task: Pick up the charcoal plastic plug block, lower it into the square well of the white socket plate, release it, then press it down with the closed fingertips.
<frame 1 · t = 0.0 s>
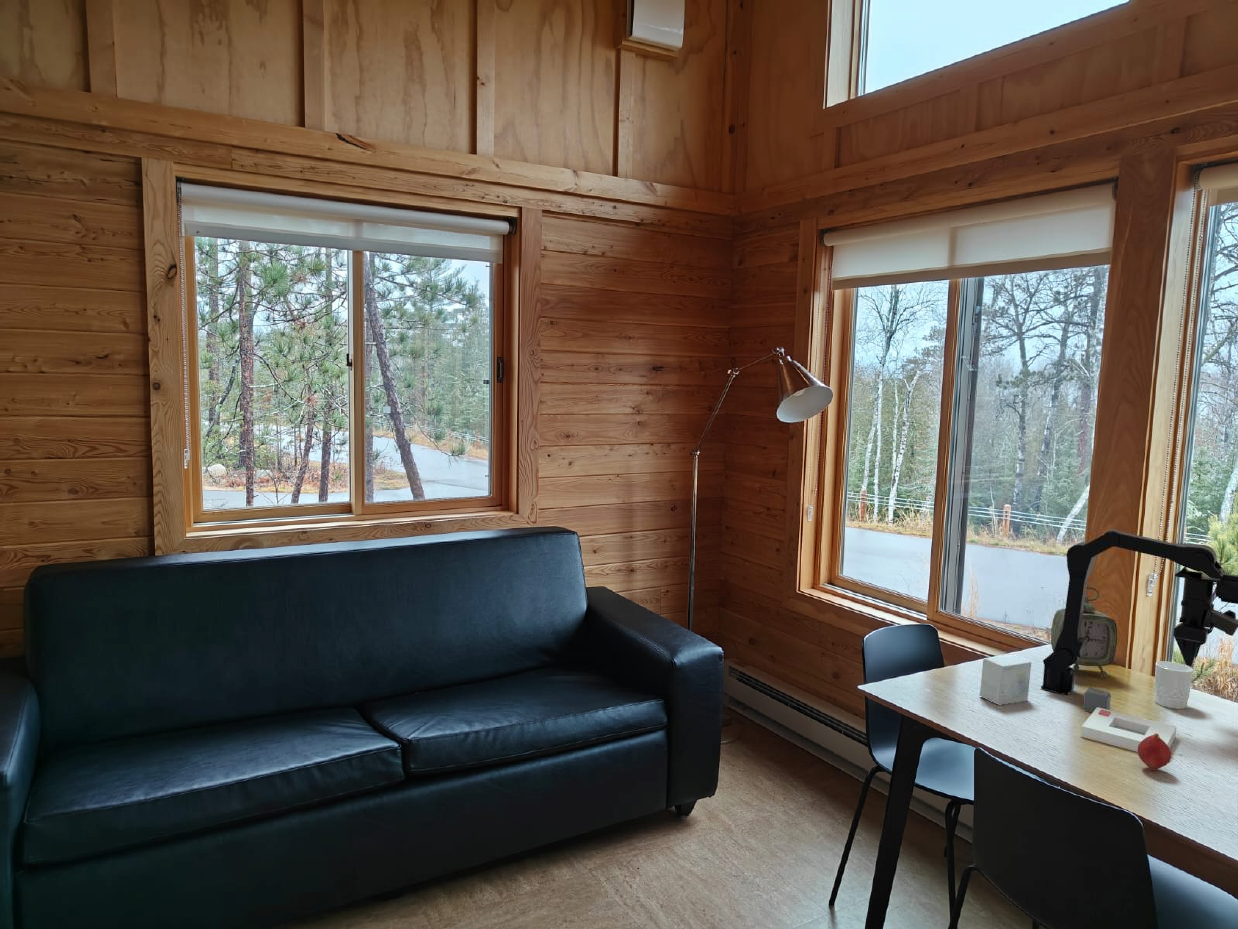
hand: (1191, 661, 195), 15 cm above the table, fingers open, 9 cm apart
white cup: (1170, 705, 207), on the table
plug: (1096, 710, 201), on the table
tabletop clock: (1079, 673, 230), on the table
skincare box: (1004, 700, 207), on the table
onion: (1152, 770, 169), on the table
socket plate: (1128, 736, 186), on the table
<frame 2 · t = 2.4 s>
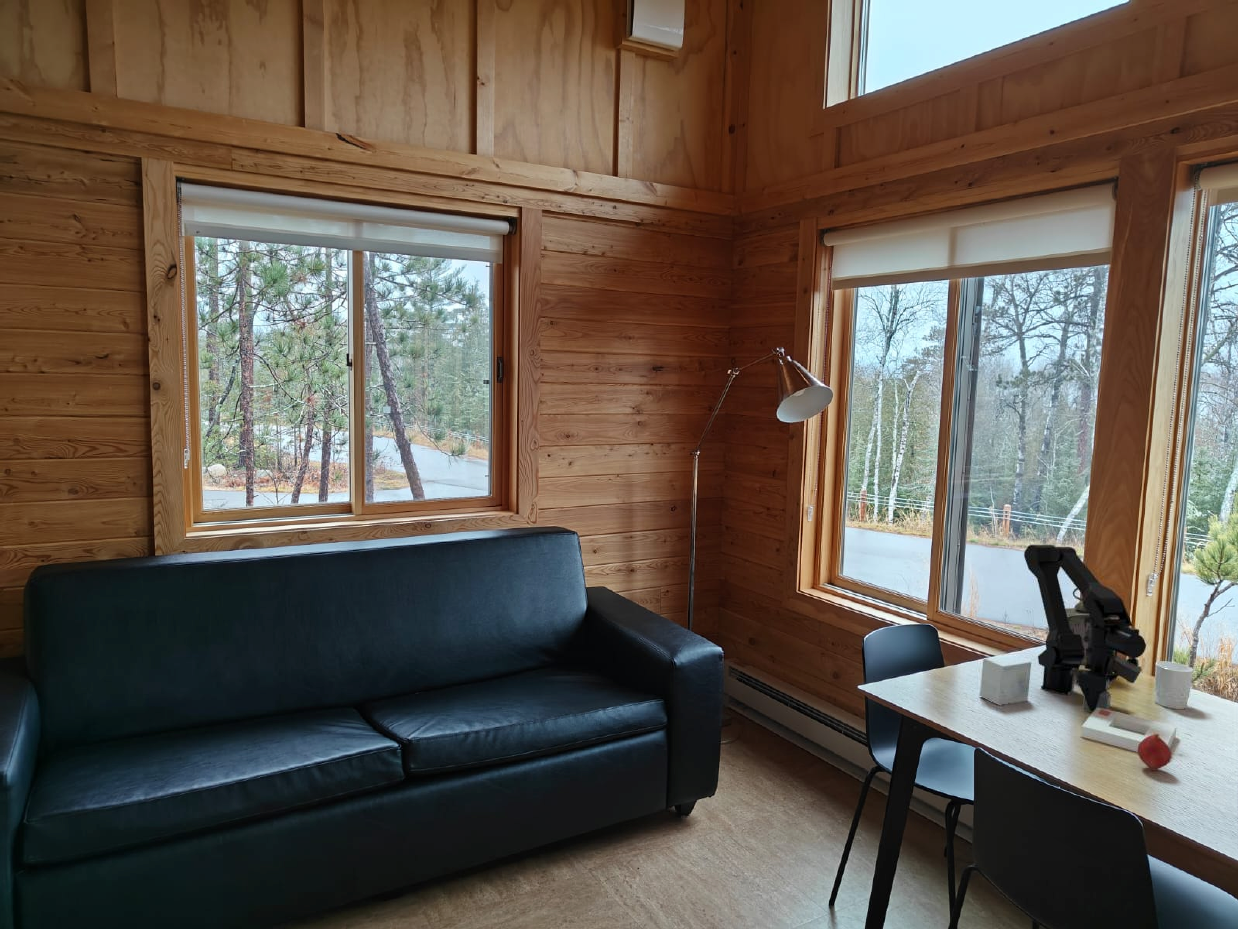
hand: (1096, 706, 201), 1 cm above the table, fingers open, 9 cm apart
nothing on the table moved.
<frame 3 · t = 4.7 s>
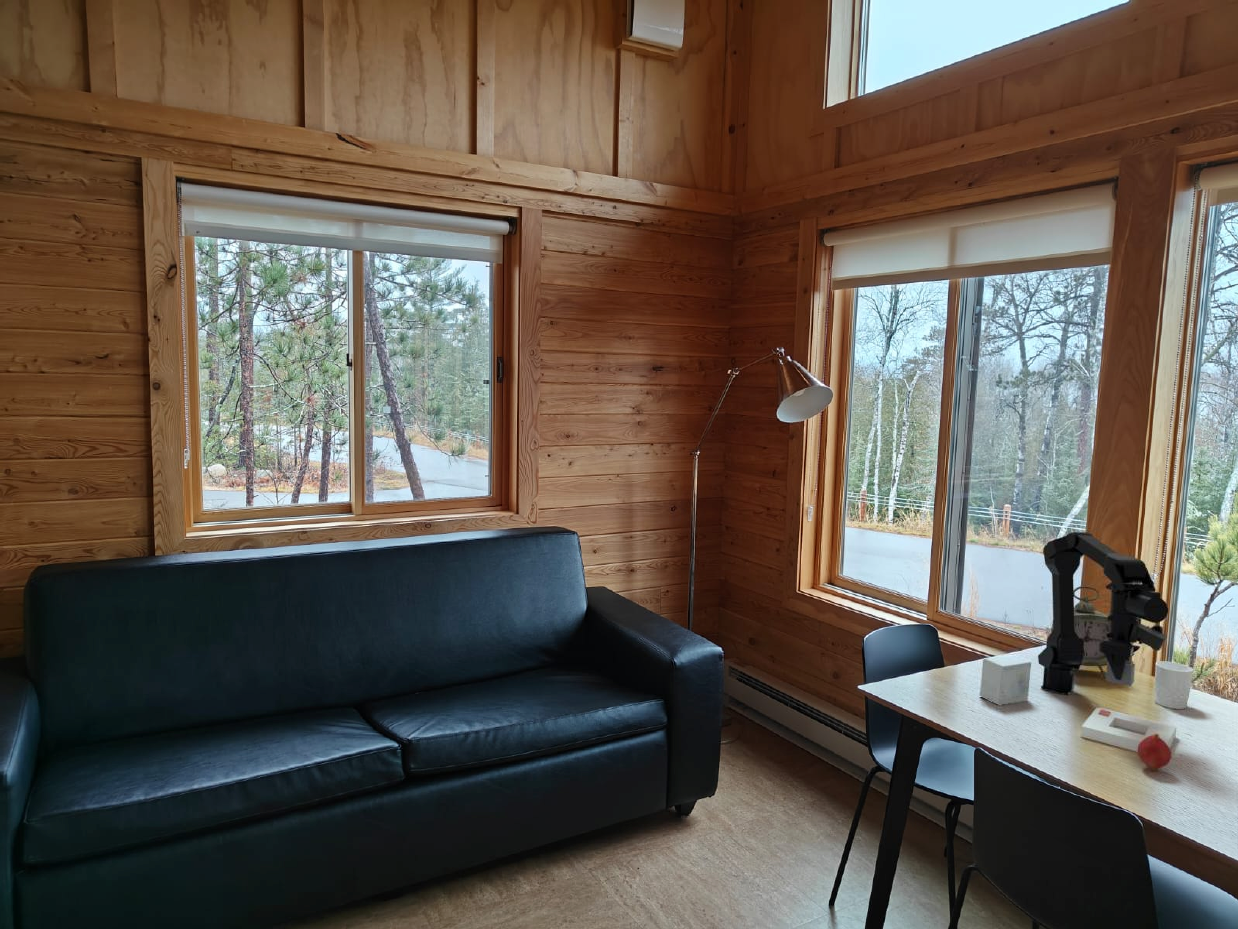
hand: (1119, 677, 191), 12 cm above the table, fingers closed on plug, 4 cm apart
plug: (1119, 681, 191), point 11 cm above the table, touching gripper
everything else where it was.
when the fingers open (3 cm above the table, at t = 6.5 s): plug drops 1 cm, resting on socket plate.
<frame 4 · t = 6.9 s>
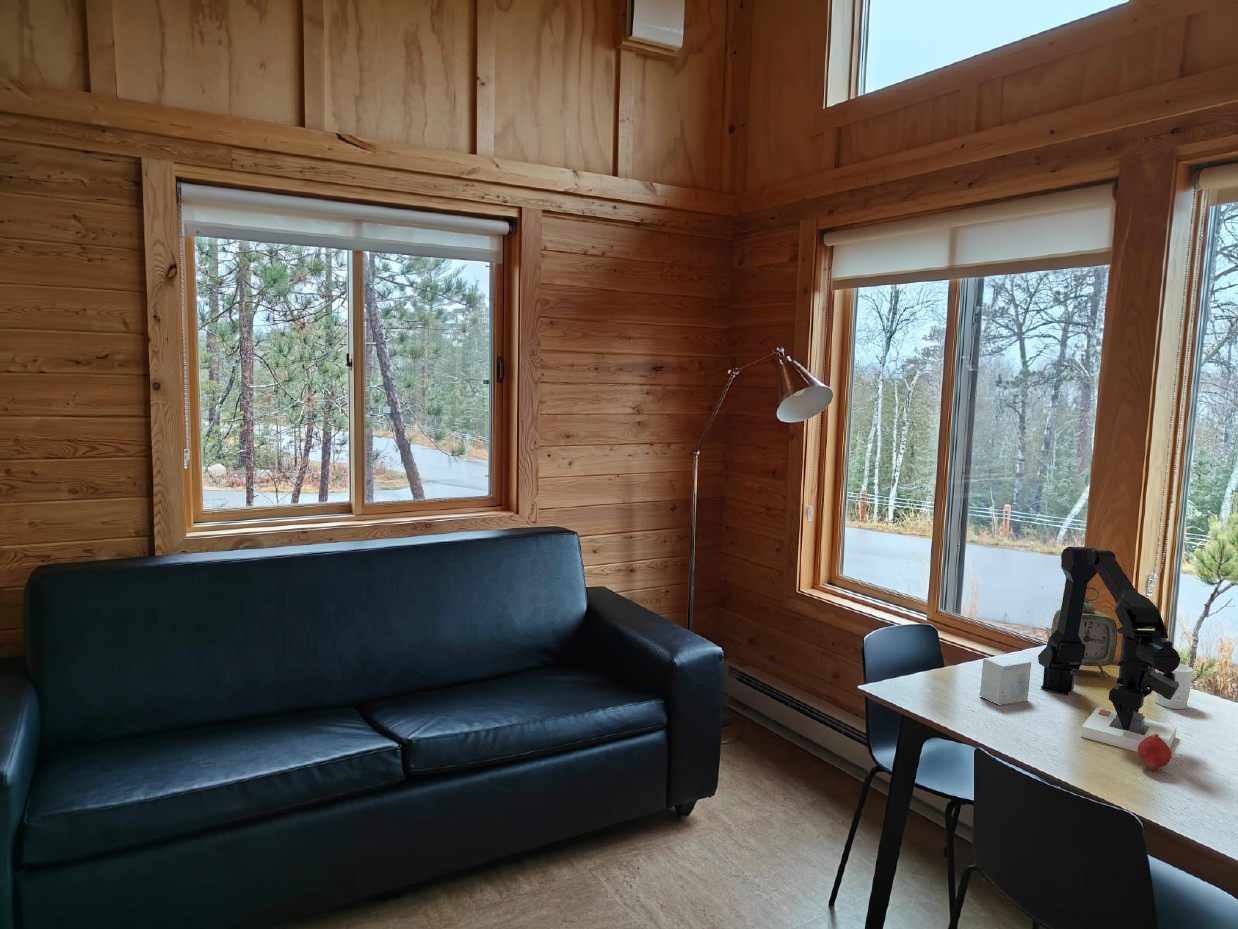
hand: (1129, 724, 186), 3 cm above the table, fingers open, 8 cm apart
plug: (1128, 734, 186), point 1 cm above the table, touching socket plate
everything else where it was.
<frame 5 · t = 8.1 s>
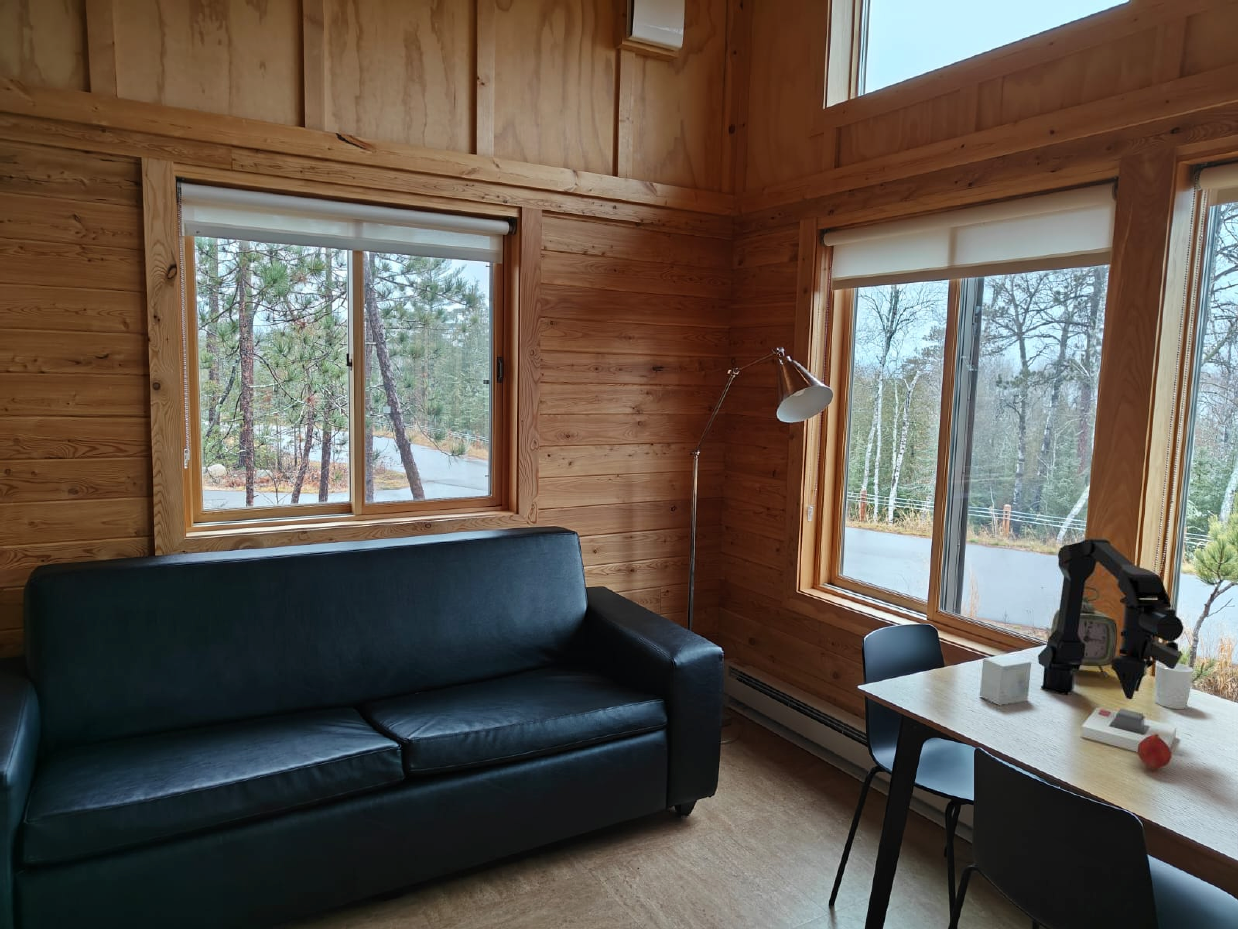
hand: (1132, 694, 185), 10 cm above the table, fingers open, 7 cm apart
nothing on the table moved.
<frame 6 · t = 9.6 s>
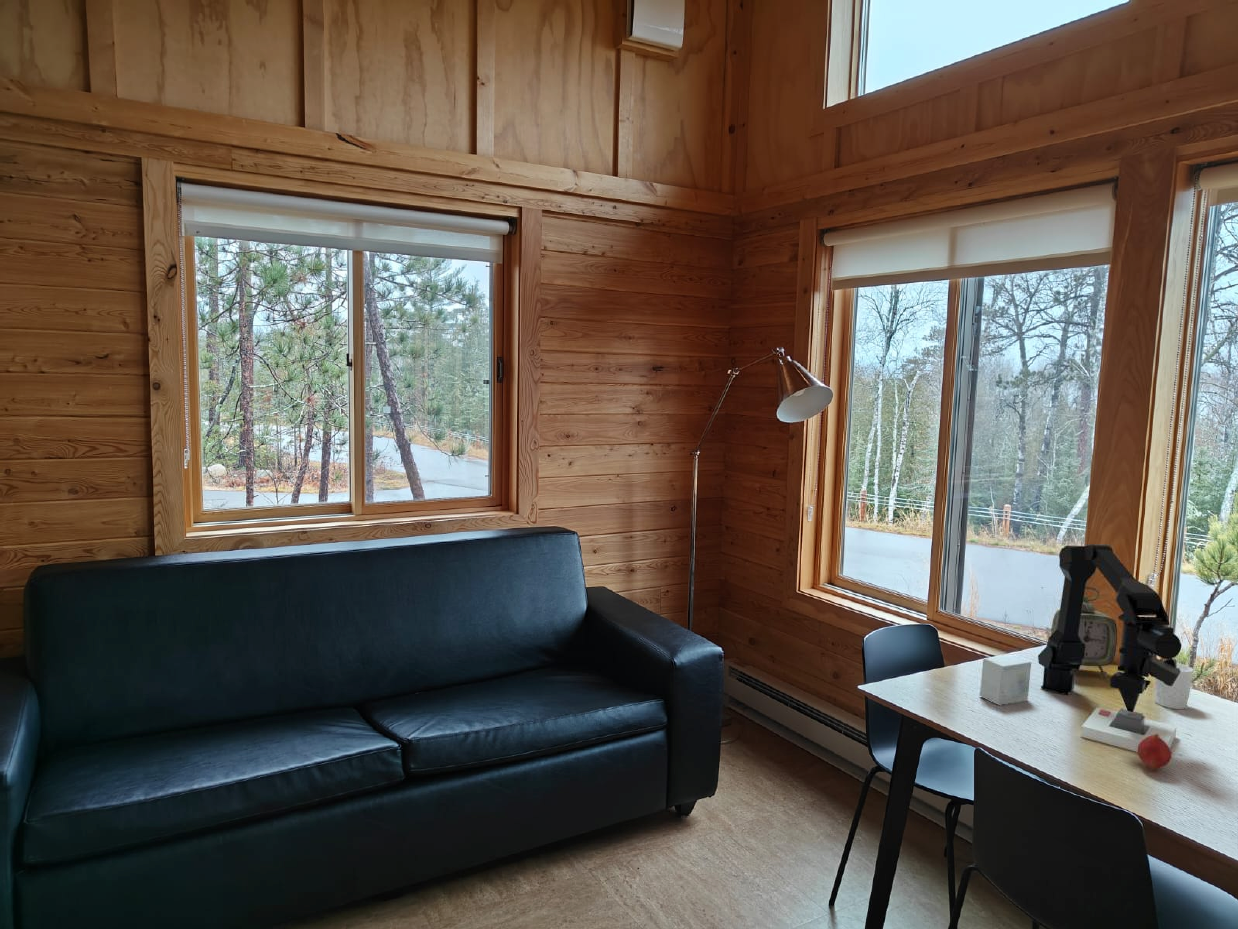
hand: (1130, 711, 185), 6 cm above the table, fingers closed
nothing on the table moved.
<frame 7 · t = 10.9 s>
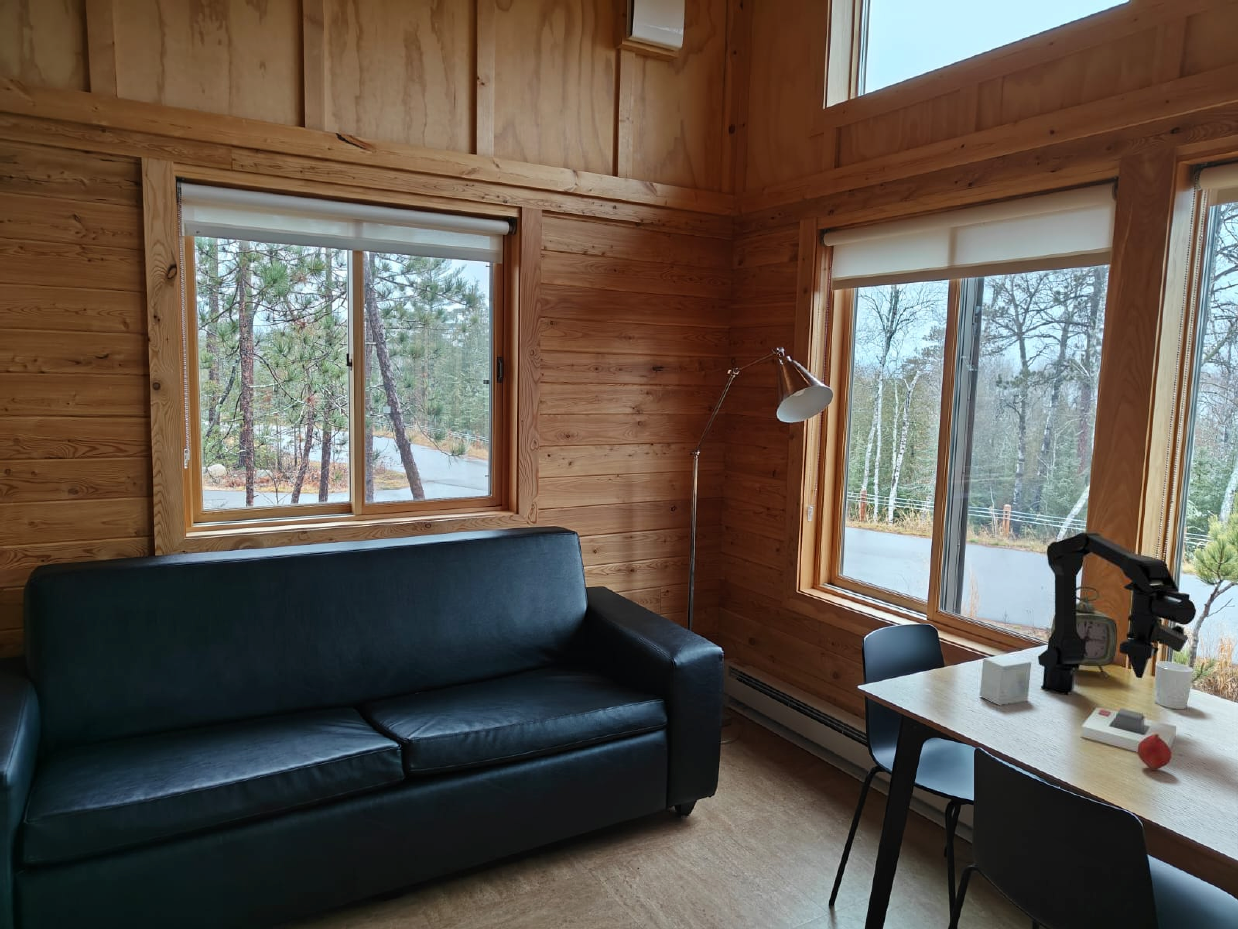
hand: (1139, 677, 191), 12 cm above the table, fingers closed
nothing on the table moved.
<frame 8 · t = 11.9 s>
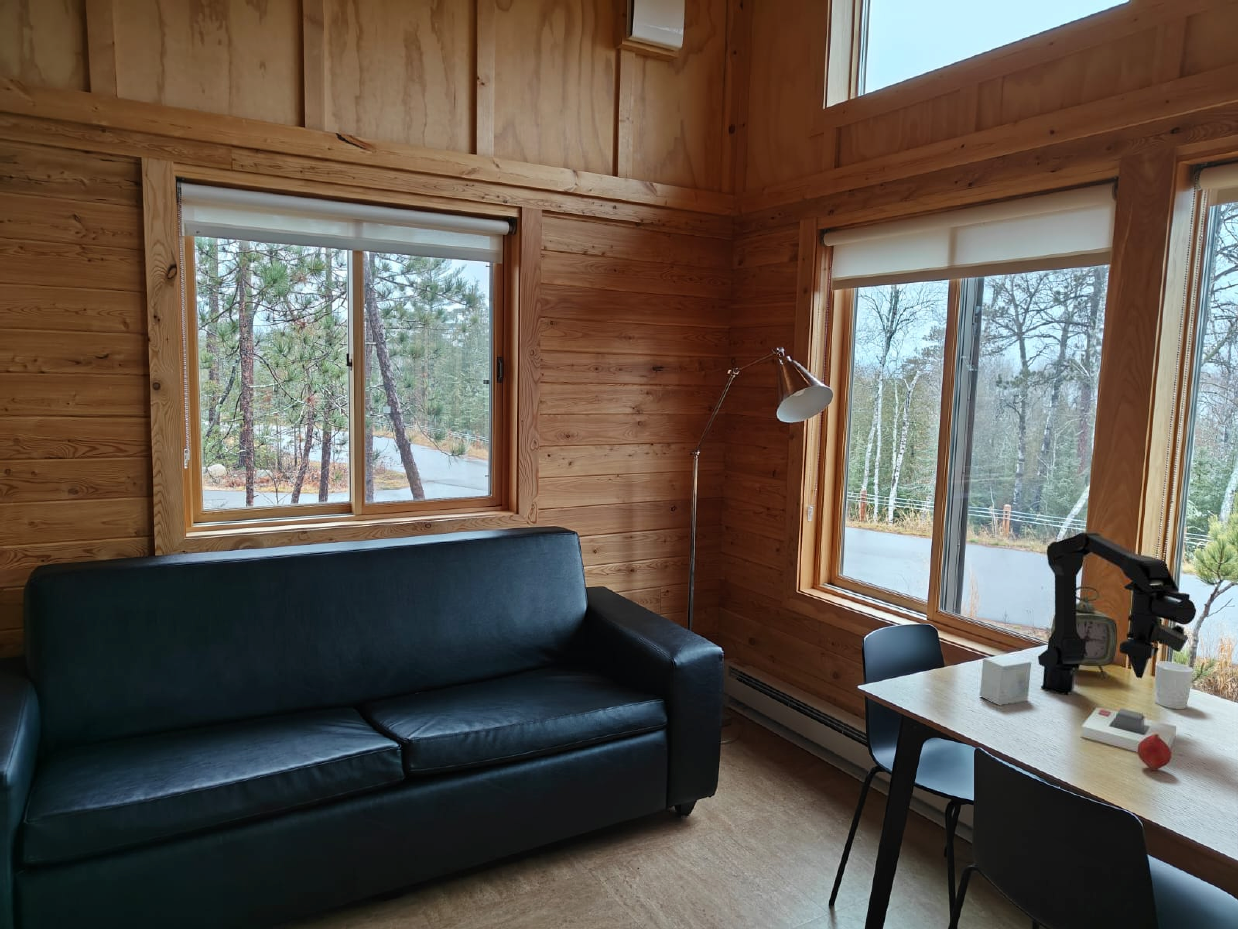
hand: (1139, 677, 191), 12 cm above the table, fingers closed
nothing on the table moved.
at the end: plug 0.0 cm off-centre on the socket plate, point 0.6 cm above the socket plate's base; plug tilted 0°; the gripper is holding nothing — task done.
